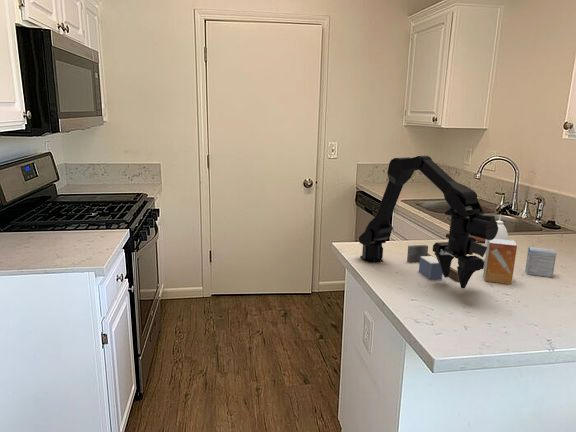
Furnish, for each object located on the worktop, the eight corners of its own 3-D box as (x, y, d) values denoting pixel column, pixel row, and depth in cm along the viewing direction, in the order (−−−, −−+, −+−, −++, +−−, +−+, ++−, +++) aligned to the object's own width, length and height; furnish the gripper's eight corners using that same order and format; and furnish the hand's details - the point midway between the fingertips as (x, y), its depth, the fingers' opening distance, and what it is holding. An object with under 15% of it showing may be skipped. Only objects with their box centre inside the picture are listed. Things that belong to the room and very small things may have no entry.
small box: (484, 281, 150) (489, 242, 147) (482, 275, 156) (487, 237, 153) (512, 284, 147) (517, 245, 144) (509, 278, 153) (514, 240, 150)
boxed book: (430, 280, 150) (431, 263, 149) (418, 272, 157) (419, 256, 156) (441, 279, 151) (443, 262, 149) (429, 271, 158) (431, 255, 157)
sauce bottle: (509, 262, 170) (515, 214, 166) (501, 267, 164) (508, 217, 161) (487, 257, 175) (493, 210, 171) (479, 262, 170) (485, 213, 166)
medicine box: (550, 273, 159) (554, 249, 157) (553, 277, 155) (556, 252, 153) (524, 270, 161) (528, 246, 159) (526, 274, 157) (530, 250, 155)
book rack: (438, 283, 147) (439, 265, 146) (406, 261, 168) (408, 245, 167) (459, 281, 149) (461, 264, 147) (426, 260, 170) (427, 244, 168)
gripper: (504, 239, 129) (497, 292, 132) (466, 224, 147) (461, 271, 150) (468, 241, 127) (462, 294, 130) (433, 225, 145) (429, 272, 148)
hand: (454, 282), depth 140 cm, fingers open, 9 cm apart
